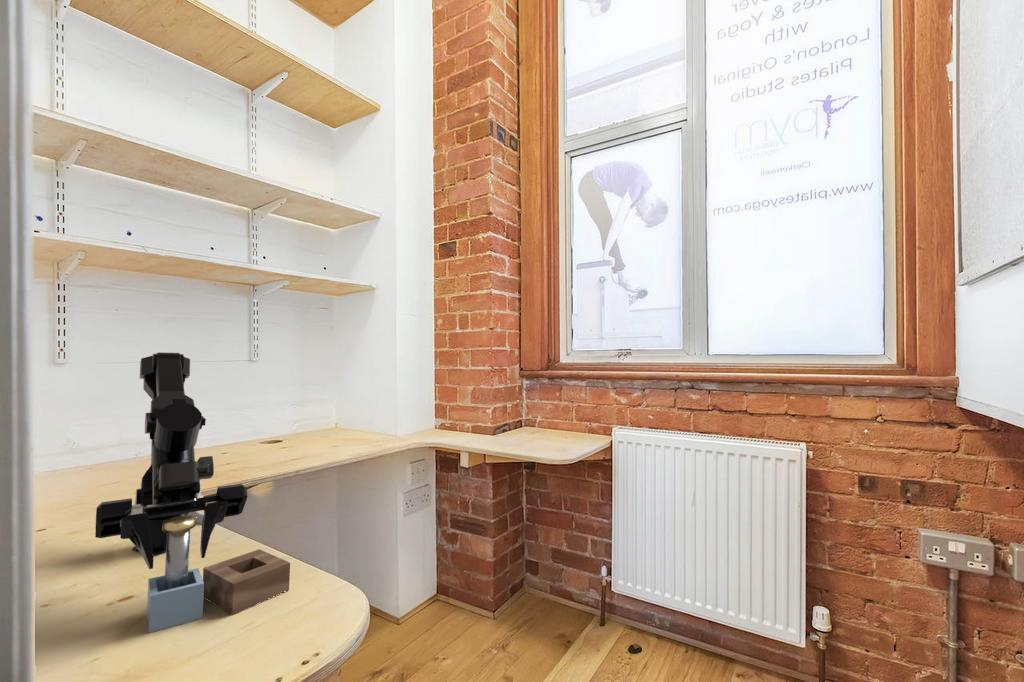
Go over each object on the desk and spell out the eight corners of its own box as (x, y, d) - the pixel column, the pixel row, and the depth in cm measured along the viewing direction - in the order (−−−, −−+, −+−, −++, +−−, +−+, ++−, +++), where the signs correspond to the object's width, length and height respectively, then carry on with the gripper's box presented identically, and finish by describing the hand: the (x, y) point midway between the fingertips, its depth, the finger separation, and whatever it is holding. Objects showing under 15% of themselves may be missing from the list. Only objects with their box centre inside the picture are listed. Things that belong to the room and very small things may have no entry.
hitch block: (202, 596, 76) (203, 567, 76) (258, 575, 83) (259, 549, 83) (232, 614, 71) (233, 584, 71) (289, 590, 79) (290, 562, 79)
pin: (152, 616, 70) (157, 521, 70) (183, 605, 73) (188, 513, 73) (164, 626, 68) (169, 527, 68) (195, 614, 71) (200, 520, 71)
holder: (146, 613, 71) (148, 578, 71) (196, 600, 75) (198, 567, 75) (149, 633, 66) (150, 596, 66) (202, 618, 70) (204, 583, 70)
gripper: (99, 445, 68) (93, 551, 59) (247, 434, 80) (260, 520, 71) (98, 488, 74) (92, 590, 65) (236, 472, 86) (246, 556, 77)
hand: (178, 562), depth 69 cm, fingers open, 6 cm apart
